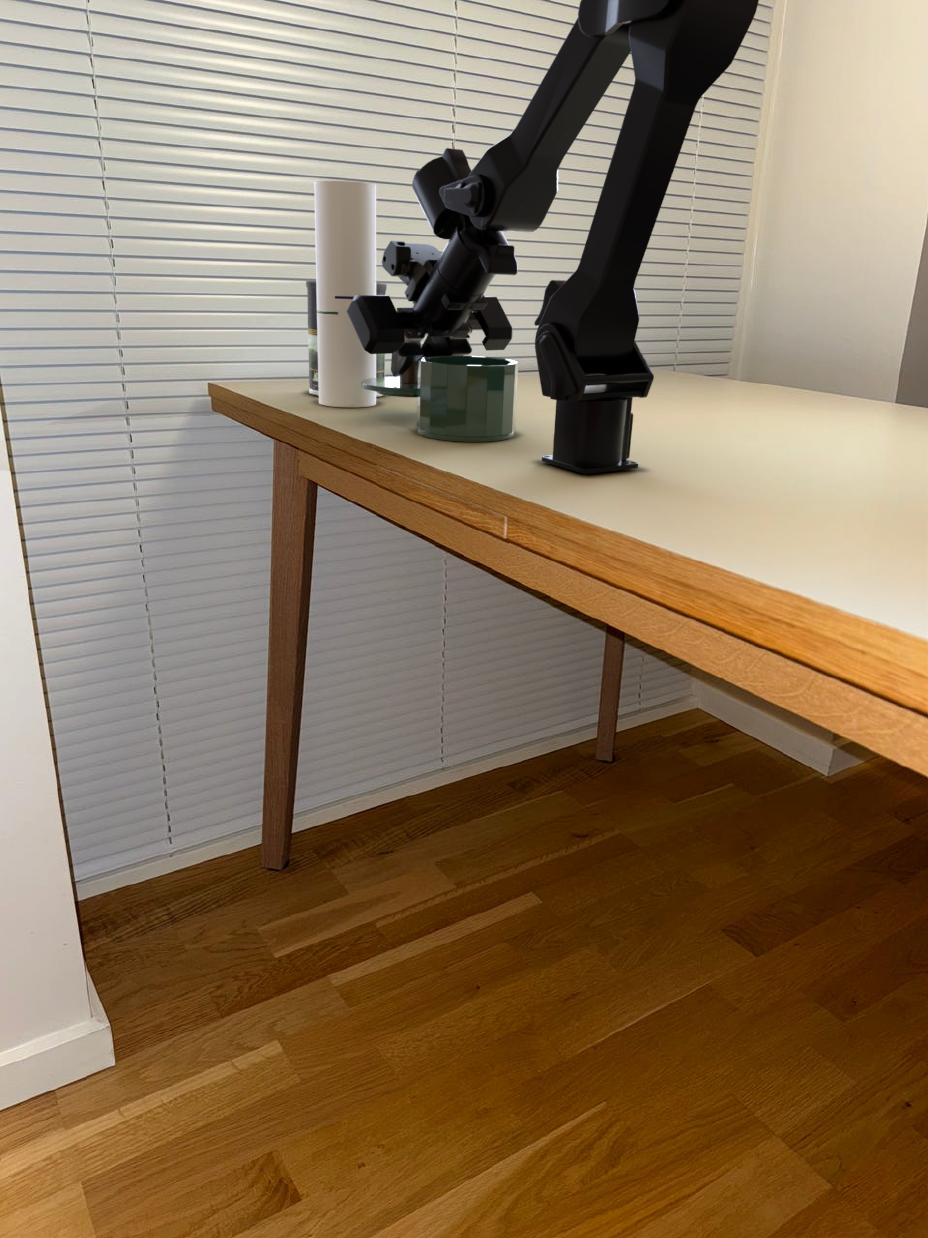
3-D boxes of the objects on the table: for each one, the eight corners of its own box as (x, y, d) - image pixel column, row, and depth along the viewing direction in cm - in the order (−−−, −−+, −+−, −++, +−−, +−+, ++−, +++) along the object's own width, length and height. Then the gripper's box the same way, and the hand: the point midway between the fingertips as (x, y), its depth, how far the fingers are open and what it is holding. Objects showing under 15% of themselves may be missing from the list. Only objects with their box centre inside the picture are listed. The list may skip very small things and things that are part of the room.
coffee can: (381, 400, 120) (381, 284, 115) (301, 397, 120) (298, 281, 115) (390, 390, 129) (390, 282, 124) (316, 387, 130) (314, 279, 125)
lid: (390, 401, 100) (390, 346, 98) (344, 388, 109) (343, 338, 107) (477, 396, 106) (479, 344, 104) (426, 385, 114) (427, 336, 112)
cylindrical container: (372, 408, 113) (372, 181, 104) (314, 406, 113) (309, 179, 104) (379, 400, 120) (379, 186, 111) (323, 398, 120) (319, 184, 111)
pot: (451, 444, 92) (453, 367, 90) (400, 428, 100) (401, 356, 98) (533, 437, 98) (537, 364, 95) (478, 422, 106) (481, 354, 103)
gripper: (502, 219, 103) (442, 318, 115) (354, 209, 92) (306, 318, 105) (544, 298, 100) (478, 390, 112) (396, 296, 89) (342, 399, 101)
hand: (403, 373), depth 108 cm, fingers closed on lid, 2 cm apart
